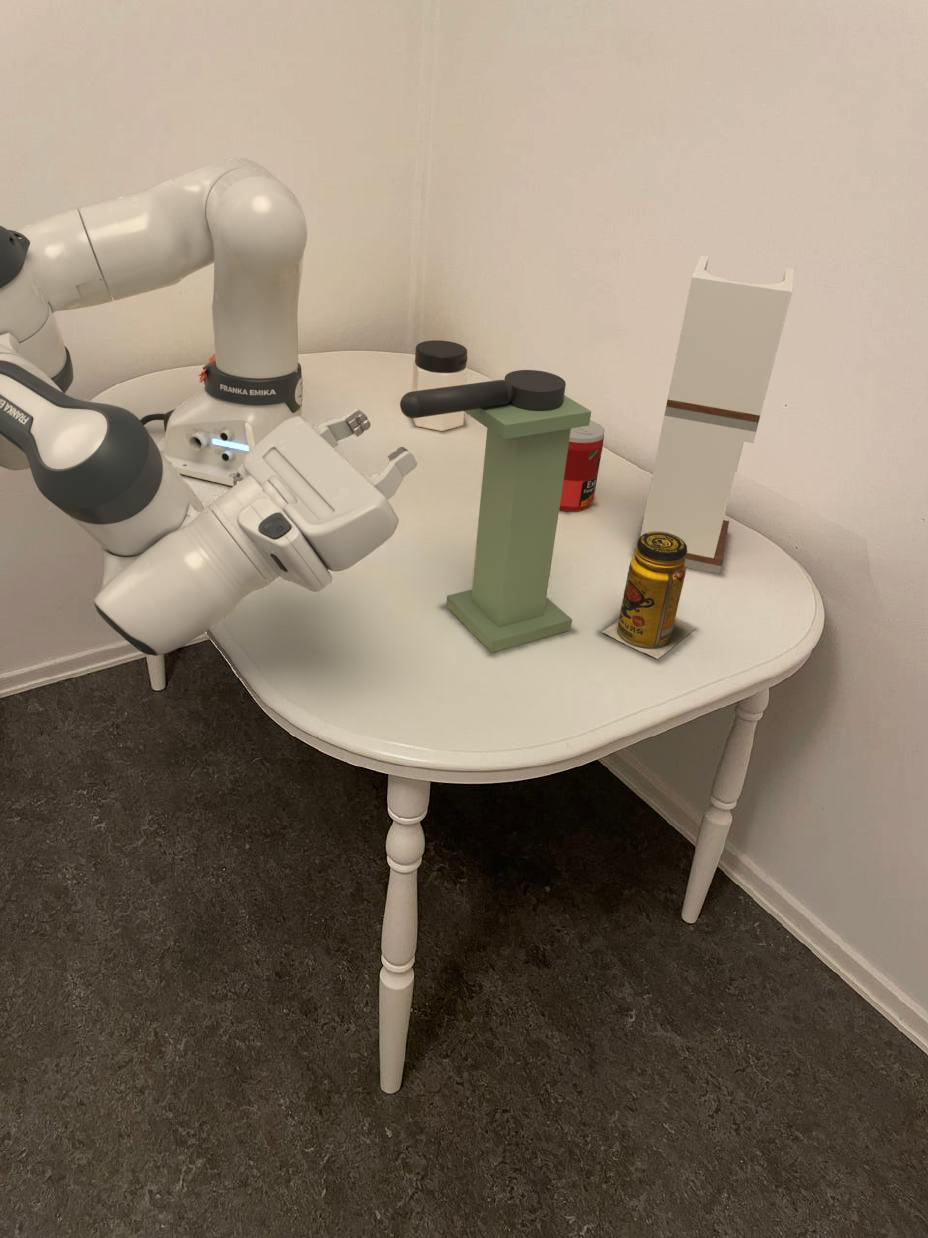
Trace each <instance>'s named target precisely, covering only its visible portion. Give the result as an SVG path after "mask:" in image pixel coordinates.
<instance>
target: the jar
mask: <svg viewBox="0 0 928 1238" xmlns="http://www.w3.org/2000/svg"><path fill="white" fill-rule="evenodd" d="M414 354H415V355H414V360H413V363H412V364H413V365H412V366H413V367H412V383H411V384H412V388H411V392H412V391H420V390H427V389H435V388H443V387H450V386H458V385H465V384H468V383H467V382H468V373H469V371H468V368H467V363H468V349H467V348H466V346H464V345H462V344H460V343H458V342H453V341H448V340H439V339H436V340H435V339H433V340H425V341H422V342H419V343H417V344H416V345H415V353H414ZM412 420H413V422H414V425H415V427H418V428H424V429H428V430H434V431H438V432H445V431H448V430H451V429H456V428H459V427H463V426H464V421H465V412H464V411H461V412H454V413H447V414H440V415H434V416H427V417H420V418H412Z"/></svg>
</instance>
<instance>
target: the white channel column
mask: <svg viewBox="0 0 928 1238" xmlns="http://www.w3.org/2000/svg"><path fill="white" fill-rule="evenodd" d="M709 259H710V256H708V255H700V258H699V260H698V262H697V265H696V266H695V269H694V272H693V274H692V276H691V280H690V284H689V289H688V295H687V300H686V305H685V310H684V315H683V321H682V324H681V330H680V334H679V340H678V346H677V350H676V355H675V360H674V364H673V365H674V366H673V369H672V375H671V380H670V385H669V390H668V394H667V395H668V396H667V399H666V404H665V405H666V406H665V410H664V415H663V420H662V426H661V430H660V434H659V440H658V445H657V450H656V455H655V461H654V465H653V470H652V475H651V480H650V485H649V490H648V494H647V495H648V496H647V500H646V505H645V509H644V515H643V520H642V524H641V530H640V535H639V537H640V536H642V535H643V534H645V533H648V532H655V531H656V532H666V533H669V534H673V535H676V536H677V537H679V538H681V539H682V540H683V541H684V542H685V544H686V545H687V553H686V555H685V559H686V561H685V563H684V565H685V567H686V568H687V569H693V570H698V571H701V572H702V571H703V572H707V573H711V574H717V575H720V573H721V571H722V570H721V569H722V566H723V563H724V557H725V550H726V543H727V537H728V531H729V524H730V520H726V519H725V515H726V511H727V507H728V503H729V500H730V495H731V491H732V488H733V483H734V479H735V476H736V472H737V471H738V467H739V463H740V459H741V455H742V451H743V447H744V443H749V444H750V443H751V444H754V441H755V438H756V434H757V430H758V427H759V423H760V418H761V415H762V412H763V407H764V403H765V399H766V396H767V391H768V388H769V383H770V379H771V376H772V372H773V369H774V365H775V362H776V361H775V360H776V356H777V353H778V349H779V346H780V341H781V337H782V335H783V330H784V325H785V322H786V318H787V315H788V311H789V307H790V302H791V299H792V296H793V288H794V287H793V286H794V271H795V270H794V268H790V267H785V268H784V269H785V270H784V273H783V276H782V277H783V278H782V280H781V281H782V282H778V283H769V284H760V283H748V282H740V281H734V280H730V279H727V278H722V277H720V276H716V275H713V274H711V273H709V272H708V271H707V268H708V263H709Z"/></svg>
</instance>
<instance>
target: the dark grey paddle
mask: <svg viewBox="0 0 928 1238" xmlns="http://www.w3.org/2000/svg"><path fill="white" fill-rule="evenodd" d="M566 385H567V383H566V380H565V379H564V378H562V377H561V376H559V375H557V374H554V373H551V372H547V371H543V370H536V369H518V370H514V371H510V372H508V373H506V375H505V376H504V379H496V380H488V381H482V382H475V383H467V384H465V385H458V386H450V387H443V388H435V389H427V390H420V391H412V390H411V391H409V392H406V393H405V394H404V395H402V397H401V399H400V402H399V407H400V411H401V413H402V414H403V415H404V416H405V417H406V418H409V419H413V418H420V417H427V416H434V415H440V414H447V413H454V412H461V411H468V410H475V409H481V408H488V407H495V406H502V405H506V404H510V405H512V406H514V407H517V408H520V409H525V410H531V411H549V410H554V409H557V408H559V407H561V406H562V405H563V401H564V395H565V393H566Z"/></svg>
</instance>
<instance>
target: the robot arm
mask: <svg viewBox="0 0 928 1238" xmlns="http://www.w3.org/2000/svg"><path fill="white" fill-rule="evenodd" d="M307 243H308V227H307V220H306V216H305V213H304V210H303V207H302V205H301V203H300V200H299V199H298V197H297V196H296V194H294V193H293V191H292V190H291V188H289V187H287V185H285V184H284V183H283V182H282V181H281V180H280V179H279V178H278V177H277V176H276V175H274V174H273V173H271V172H270V171H269V170H268V169H267V168H266V167H265V166H264V165H262V164H260V163H259V162H256V161H254V160H252V159H248V158H242V157H233V158H232V157H231V158H226V159H223V160H220V161H218V162H216V163H213V164H209V165H207V166H204V167H200V168H198V169H195V170H192V171H190V172H186V173H183V174H182V175H179V176H175V177H173V178H170V179H168V180H166V181H164V182H162V183H159V184H157V185H153V186H151V187H149V188H147V189H143V190H140V191H136V192H132V193H129V194H124V195H119V196H116V197H112V198H108V199H104V200H100V201H97V202H93V203H89V204H84V205H81V206H78V207H73V208H69V209H66V210H62V211H59V212H56V213H53V214H50V215H48V216H45V217H42V218H39V219H37V220H35V221H33V222H31V223H29V224H28V223H27V224H26V225H24V226H22V227H19V228H18V229H16V230H13V229H7V228H6V227H5V226H2V225H0V468H1V467H2V468H4V469H7V470H9V471H23V470H28V469H30V471H31V475H32V479H33V481H34V483H35V485H36V487H37V489H38V490H39V492H40V493H41V494H42V495H43V497H44V498H45V499H46V500H47V501H48V502H50V503H52V504H53V505H54V506H56V507H57V508H58V509H59V510H61V511H62V512H63V513H64V514H66V515H68V516H69V517H70V518H71V519H72V520H73V521H74V522H75V523H76V524H77V525H78V526H80V527H81V528H82V529H83V530H84V531H85V533H87V534H88V535H89V536H90V537H91V538H93V539H94V541H96V542H97V544H99V545H100V551H101V555H102V562H103V563H102V564H103V573H102V581H101V586H100V590H99V592H98V593H97V594H96V596H95V597H94V599H93V605H94V607H95V610H96V612H97V613H98V615H99V616H100V617H101V619H102V620H103V621H104V622H105V623H107V625H108V626H110V628H111V629H113V630H114V631H115V632H116V633H118V634H119V635H120V636H121V637H122V638H124V640H126V642H128V643H129V644H130V645H131V646H132V647H134V648H135V649H137V650H138V651H139V652H141V653H143V654H145V655H148V656H154V657H158V656H163V655H165V654H169V653H171V652H173V651H175V650H177V649H179V648H181V647H183V646H185V645H187V644H189V643H190V642H192V641H194V640H195V639H197V638H198V637H199V636H201V635H203V634H204V633H206V632H207V631H208V630H210V629H211V628H213V627H214V626H215V625H217V624H218V623H220V622H221V621H222V620H224V619H225V618H226V617H227V616H229V615H230V614H231V613H233V611H234V610H235V609H236V607H237V606H238V604H239V603H240V602H241V601H242V600H243V599H244V598H245V597H247V596H248V595H250V594H251V593H253V592H256V591H259V590H260V589H263V588H266V587H267V586H269V585H270V584H272V583H273V582H274V581H275V580H277V579H278V578H279V577H280V578H281V580H283V581H287V582H290V583H293V584H295V585H297V586H300V587H302V588H304V589H306V590H308V591H310V592H313V593H317V592H320V591H322V590H324V589H325V588H326V587H328V586H329V585H330V584H331V583H332V581H333V575H332V574H331V572H334V573H339V572H343V571H345V570H348V569H350V568H351V567H353V566H355V565H356V564H358V563H359V562H361V561H362V560H363V559H365V558H366V557H367V556H369V555H371V554H372V553H373V552H374V551H376V550H377V549H378V548H379V547H381V546H382V545H383V544H385V543H386V542H387V541H388V540H389V539H390V538H391V537H392V536H393V535H394V534H395V533H396V530H397V528H398V526H399V523H400V518H399V517H398V515H397V513H396V512H395V510H394V508H393V506H392V505H391V503H390V502H389V500H390V499H391V498H392V497H394V496H395V495H396V493H397V491H398V489H399V488H400V485H401V484H402V481H403V480H404V477H406V476H407V475H409V474H410V473H411V472H412V471H413V470H415V469H416V468H417V466H418V461H417V460H416V457H415V456H414V454H413V453H412V452H411V451H409V450H408V449H407V448H406V447H404V446H400V447H398V448H397V449H396V450H395V451H392V452H391V453H390V454H389V455H387V459H388V460H389V462H388V463H387V464H386V466H385V468H384V469H383V470H382V472H381V473H378V472H375V473H374V474H372V475H370V477H368V478H366V477H365V476H364V475H363V474H362V473H361V472H360V471H359V470H358V469H357V468H355V467H354V465H352V464H351V462H349V461H348V460H347V459H346V458H345V457H344V456H343V455H342V454H341V453H340V452H338V451H337V450H336V447H337V446H339V443H338V442H339V441H342V440H344V439H346V438H349V437H351V436H353V435H354V436H356V437H357V438H358V437H360V436H362V435H363V434H364V432H365V431H368V430H369V429H370V427H371V421H370V420H369V418H368V416H367V415H366V414H365V413H364V412H363V411H362V410H360V409H359V408H354V409H353V410H351V411H350V412H348V413H347V414H346V415H344V416H343V417H342V416H341V417H337V418H334V419H331V420H327V421H324V422H322V423H320V424H319V425H317V426H316V427H315V428H313V427H312V426H311V425H310V424H309V423H308V422H307V421H306V420H304V418H303V415H302V405H303V401H304V380H303V372H302V364H301V363H300V362H299V332H298V331H299V329H298V327H299V326H298V325H299V324H298V310H299V309H298V308H299V299H300V298H299V297H300V289H301V282H302V274H303V267H304V266H303V265H304V252H305V250H306V247H307ZM212 264H213V295H212V303H211V313H212V314H211V315H212V316H211V317H212V330H213V343H214V346H213V347H214V354H213V355H212V356H210V358H208V363H207V364H205V365H204V366H203V367H202V371H201V372H200V373H199V374H198V377H199V383H203V385H204V387H202V388H201V389H200V390H198V391H197V392H196V393H194V394H193V395H191V396H190V397H188V398H187V399H186V400H185V401H183V402H182V403H181V404H179V405H178V406H177V407H176V408H174V409H172V410H170V411H167V412H165V413H152V414H147V415H145V416H143V417H142V418H140V419H139V417H138V416H136V415H135V414H134V413H132V412H131V411H130V410H128V409H125V408H123V407H121V406H118V405H113V404H109V403H108V404H107V403H101V402H93V401H86V400H81V399H78V398H74V397H72V396H70V395H67V394H66V393H67V391H68V390H69V388H70V387H71V385H72V384H73V381H74V366H73V360H72V357H71V353H70V351H69V349H68V348H67V346H66V345H65V342H64V339H63V336H62V333H61V330H60V327H59V324H58V322H57V320H56V316H55V315H54V313H56V312H61V311H69V310H70V311H71V310H77V309H78V310H79V309H84V308H89V307H90V308H91V307H95V306H100V305H103V304H107V303H112V302H115V301H120V300H124V299H126V298H131V297H134V296H138V295H141V294H145V293H148V292H153V291H156V290H160V289H164V288H168V287H171V286H174V285H176V284H178V283H180V282H181V281H182V280H183V279H185V278H186V277H188V276H190V275H191V274H193V273H196V272H197V271H200V270H201V269H203V268H206V267H208V266H211V265H212ZM153 421H163V428H164V429H163V430H164V432H165V435H164V436H162V437H161V438H160V439H159V440H158V441H157V442H156V441H155V439H153V437H152V436H151V434H150V433H149V431H148V429H147V428H146V427H145V426H146V425H147V424H148V423H150V422H153ZM182 475H183V476H188V477H192V478H196V479H200V480H203V481H204V480H205V481H209V482H213V483H216V484H217V483H218V484H222V485H225V486H230V487H231V488H229V489H228V490H226V491H225V492H224V493H222V494H221V495H219V496H218V497H217V498H215V499H214V500H213V501H211V502H210V503H209V504H208V505H205V506H204V505H203V502H202V501H201V499H200V498H199V497H198V495H197V493H195V491H194V490H193V489H192V487H190V485H189V484H188V482H187V481H186V480H185V479H184V477H183V476H182Z"/></svg>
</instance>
